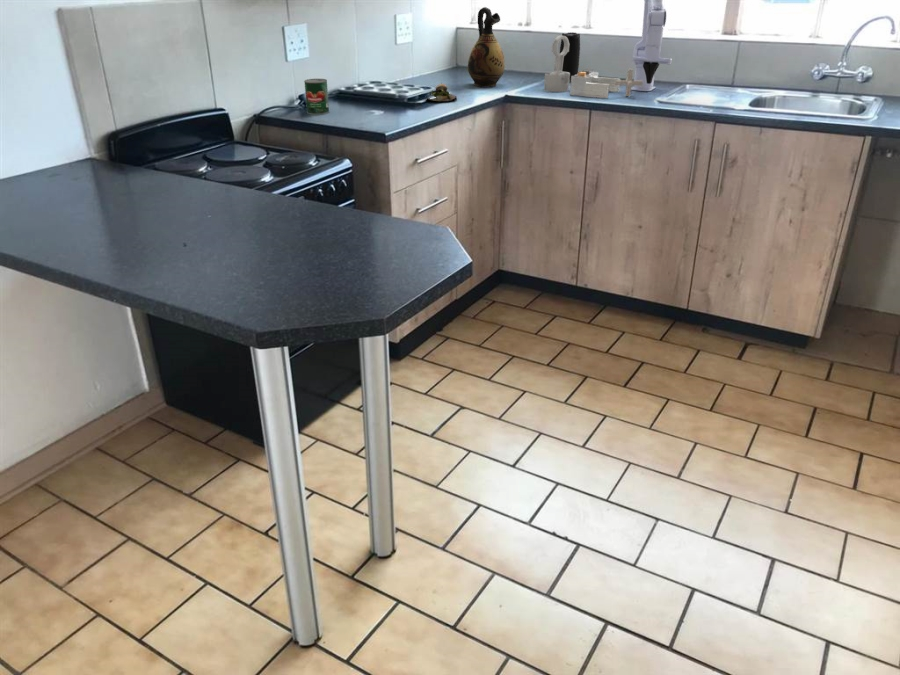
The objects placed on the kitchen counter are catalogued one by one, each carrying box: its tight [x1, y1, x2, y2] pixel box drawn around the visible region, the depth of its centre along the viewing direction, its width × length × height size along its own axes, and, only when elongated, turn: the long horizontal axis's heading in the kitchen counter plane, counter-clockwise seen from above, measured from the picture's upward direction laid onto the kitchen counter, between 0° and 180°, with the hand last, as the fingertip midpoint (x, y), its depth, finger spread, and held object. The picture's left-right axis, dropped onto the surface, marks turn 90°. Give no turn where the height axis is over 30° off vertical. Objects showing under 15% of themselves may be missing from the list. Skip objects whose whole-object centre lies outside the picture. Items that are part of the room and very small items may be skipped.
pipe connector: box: [616, 68, 643, 97], centre depth 287 cm, size 10×10×10 cm
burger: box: [427, 83, 458, 102], centre depth 283 cm, size 12×12×8 cm
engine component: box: [543, 34, 571, 93], centre depth 299 cm, size 11×20×10 cm
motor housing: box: [569, 68, 621, 99], centre depth 294 cm, size 16×15×8 cm
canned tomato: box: [303, 78, 330, 116], centre depth 263 cm, size 8×8×11 cm
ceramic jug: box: [467, 6, 506, 88], centre depth 307 cm, size 17×15×30 cm
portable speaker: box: [559, 32, 581, 81], centre depth 319 cm, size 8×9×19 cm
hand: (649, 83), depth 284 cm, fingers closed
